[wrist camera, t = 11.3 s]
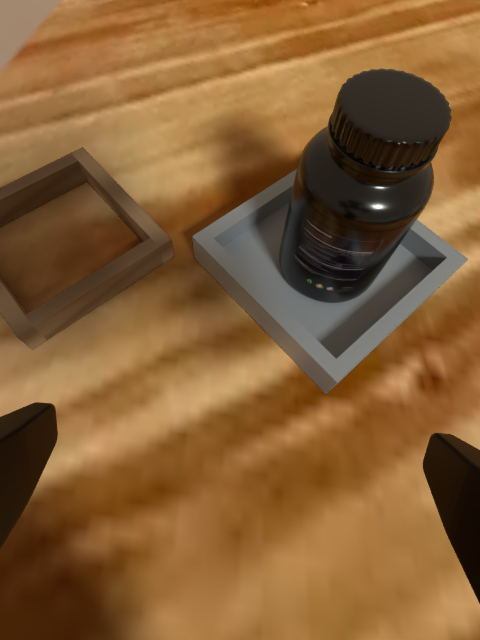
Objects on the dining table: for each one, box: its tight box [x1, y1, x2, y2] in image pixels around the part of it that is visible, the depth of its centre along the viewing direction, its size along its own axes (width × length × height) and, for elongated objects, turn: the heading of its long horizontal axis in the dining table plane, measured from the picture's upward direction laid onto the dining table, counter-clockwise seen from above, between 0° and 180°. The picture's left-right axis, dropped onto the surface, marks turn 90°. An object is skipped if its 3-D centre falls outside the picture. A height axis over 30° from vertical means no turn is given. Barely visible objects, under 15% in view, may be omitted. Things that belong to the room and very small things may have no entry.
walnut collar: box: [0, 147, 175, 350], centre depth 26 cm, size 11×11×2 cm
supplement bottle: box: [279, 69, 452, 303], centre depth 21 cm, size 7×7×12 cm
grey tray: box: [192, 169, 468, 394], centre depth 26 cm, size 13×13×2 cm
